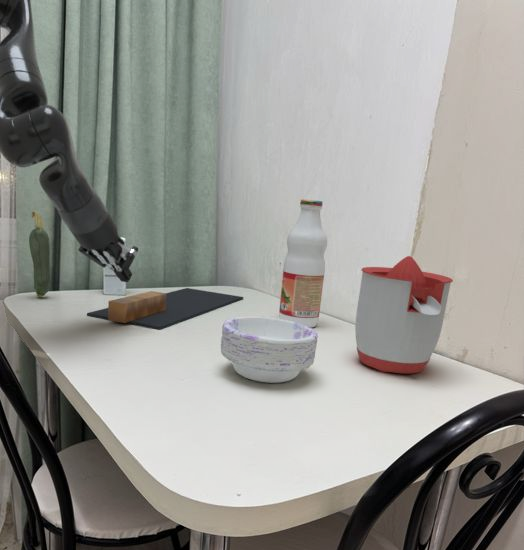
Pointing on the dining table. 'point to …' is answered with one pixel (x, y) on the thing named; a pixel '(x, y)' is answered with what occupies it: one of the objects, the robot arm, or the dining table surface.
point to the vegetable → (40, 256)
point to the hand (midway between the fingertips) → (126, 278)
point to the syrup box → (113, 281)
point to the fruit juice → (304, 267)
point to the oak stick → (136, 306)
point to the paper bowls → (268, 347)
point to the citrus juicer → (400, 316)
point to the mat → (179, 307)
